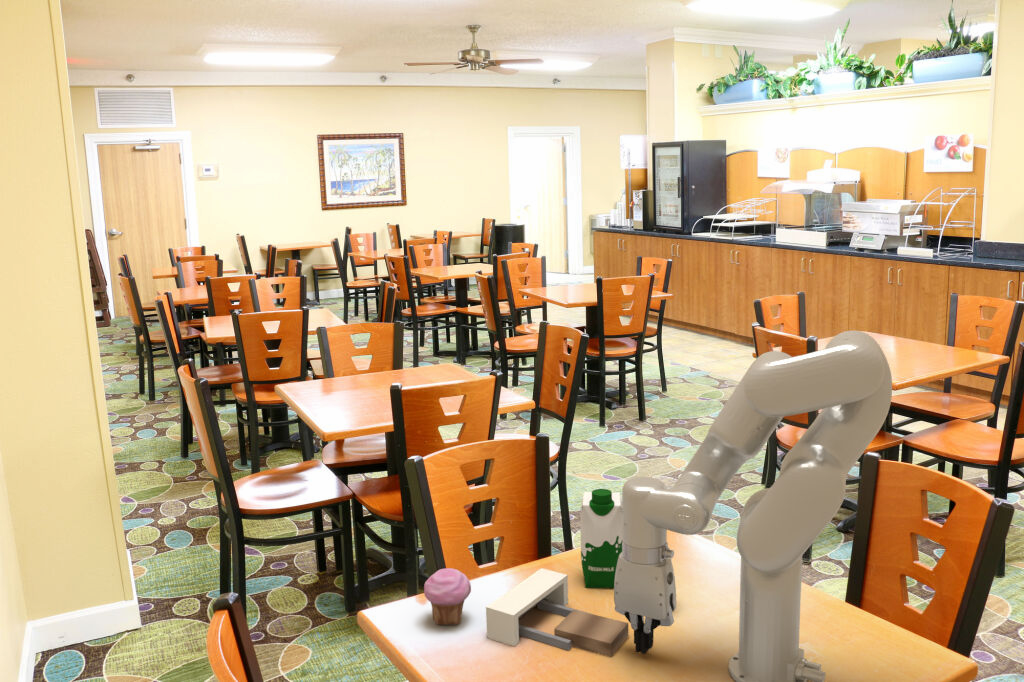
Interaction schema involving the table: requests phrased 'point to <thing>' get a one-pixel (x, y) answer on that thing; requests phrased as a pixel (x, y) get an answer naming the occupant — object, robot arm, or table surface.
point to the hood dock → (519, 600)
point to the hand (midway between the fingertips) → (643, 649)
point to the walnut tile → (593, 632)
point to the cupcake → (447, 595)
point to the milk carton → (600, 537)
